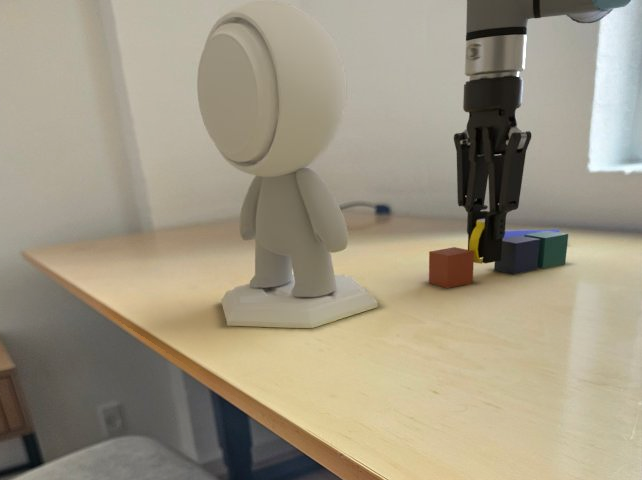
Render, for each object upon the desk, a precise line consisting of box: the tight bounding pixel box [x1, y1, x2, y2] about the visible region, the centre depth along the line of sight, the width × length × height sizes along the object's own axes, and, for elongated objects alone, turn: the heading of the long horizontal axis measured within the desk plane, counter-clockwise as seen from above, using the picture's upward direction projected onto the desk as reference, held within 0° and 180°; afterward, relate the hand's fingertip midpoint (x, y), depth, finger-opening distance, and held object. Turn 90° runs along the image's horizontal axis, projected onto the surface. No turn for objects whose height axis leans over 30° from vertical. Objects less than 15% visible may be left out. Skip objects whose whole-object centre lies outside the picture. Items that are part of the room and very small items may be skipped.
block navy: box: [493, 236, 540, 275], centre depth 99 cm, size 4×4×4 cm
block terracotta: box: [428, 246, 475, 289], centre depth 94 cm, size 4×4×4 cm
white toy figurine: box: [196, 0, 379, 329], centre depth 82 cm, size 20×23×35 cm
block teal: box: [524, 231, 569, 270], centre depth 101 cm, size 4×4×4 cm
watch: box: [469, 219, 485, 265], centre depth 95 cm, size 6×3×6 cm, turn 134°
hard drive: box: [502, 228, 560, 239], centre depth 117 cm, size 2×8×12 cm
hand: (483, 259), depth 96 cm, fingers closed on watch, 3 cm apart
